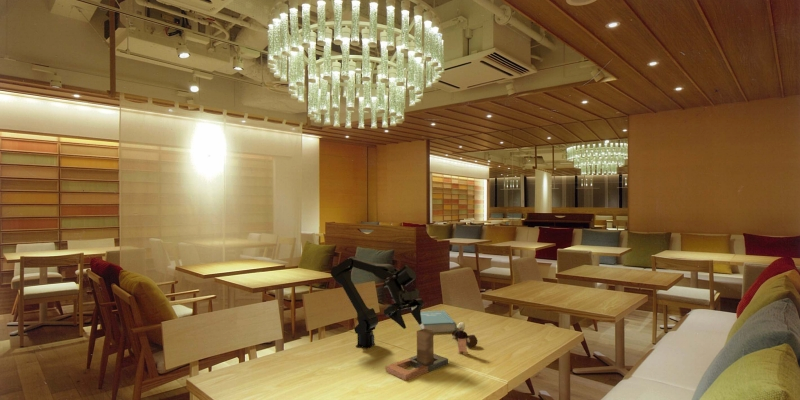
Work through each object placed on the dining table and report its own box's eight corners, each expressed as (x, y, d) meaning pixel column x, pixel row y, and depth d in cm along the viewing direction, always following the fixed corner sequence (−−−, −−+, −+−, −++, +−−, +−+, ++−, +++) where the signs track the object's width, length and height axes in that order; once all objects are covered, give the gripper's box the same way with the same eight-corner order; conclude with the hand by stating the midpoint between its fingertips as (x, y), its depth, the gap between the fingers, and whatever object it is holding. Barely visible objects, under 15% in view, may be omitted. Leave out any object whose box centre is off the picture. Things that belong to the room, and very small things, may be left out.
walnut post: (425, 368, 154) (424, 333, 154) (417, 364, 158) (416, 330, 158) (433, 365, 157) (433, 330, 157) (425, 361, 161) (425, 328, 161)
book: (416, 321, 219) (416, 311, 219) (446, 319, 221) (445, 310, 221) (423, 334, 196) (423, 323, 196) (456, 332, 198) (456, 322, 198)
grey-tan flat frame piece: (405, 380, 143) (405, 375, 143) (385, 371, 152) (385, 366, 152) (448, 364, 158) (448, 358, 158) (428, 356, 166) (428, 351, 166)
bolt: (456, 341, 190) (474, 350, 176) (447, 337, 188) (465, 346, 175) (461, 329, 191) (479, 337, 178) (452, 325, 190) (470, 333, 176)
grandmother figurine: (472, 352, 170) (471, 322, 170) (469, 355, 166) (469, 324, 166) (454, 350, 173) (453, 320, 173) (451, 353, 169) (450, 322, 169)
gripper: (392, 284, 161) (408, 321, 154) (423, 279, 174) (440, 313, 167) (376, 298, 167) (392, 334, 160) (408, 292, 180) (423, 325, 173)
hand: (413, 326), depth 165 cm, fingers open, 9 cm apart
